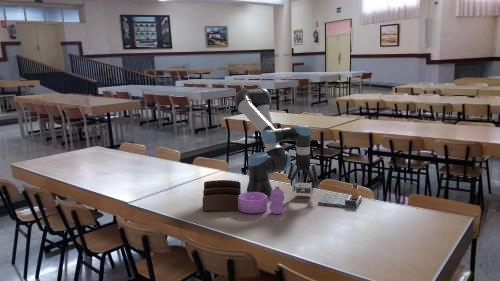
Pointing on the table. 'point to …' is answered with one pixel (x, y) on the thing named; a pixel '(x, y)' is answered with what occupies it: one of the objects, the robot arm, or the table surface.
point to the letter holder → (221, 195)
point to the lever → (354, 192)
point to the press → (340, 201)
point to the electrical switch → (303, 188)
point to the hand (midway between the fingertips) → (302, 192)
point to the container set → (261, 202)
